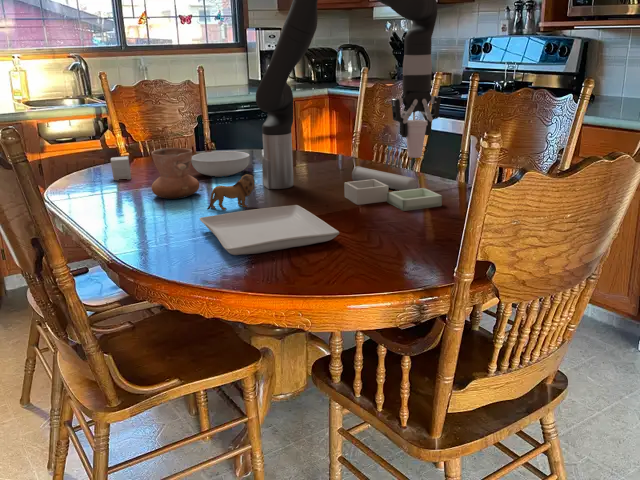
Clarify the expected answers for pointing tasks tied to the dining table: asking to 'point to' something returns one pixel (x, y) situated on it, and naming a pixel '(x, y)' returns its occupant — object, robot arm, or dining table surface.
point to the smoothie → (415, 137)
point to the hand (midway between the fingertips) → (415, 135)
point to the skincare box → (120, 168)
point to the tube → (385, 178)
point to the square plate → (268, 229)
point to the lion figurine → (233, 192)
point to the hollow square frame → (366, 191)
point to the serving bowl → (220, 163)
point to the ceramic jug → (174, 173)
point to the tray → (414, 199)
